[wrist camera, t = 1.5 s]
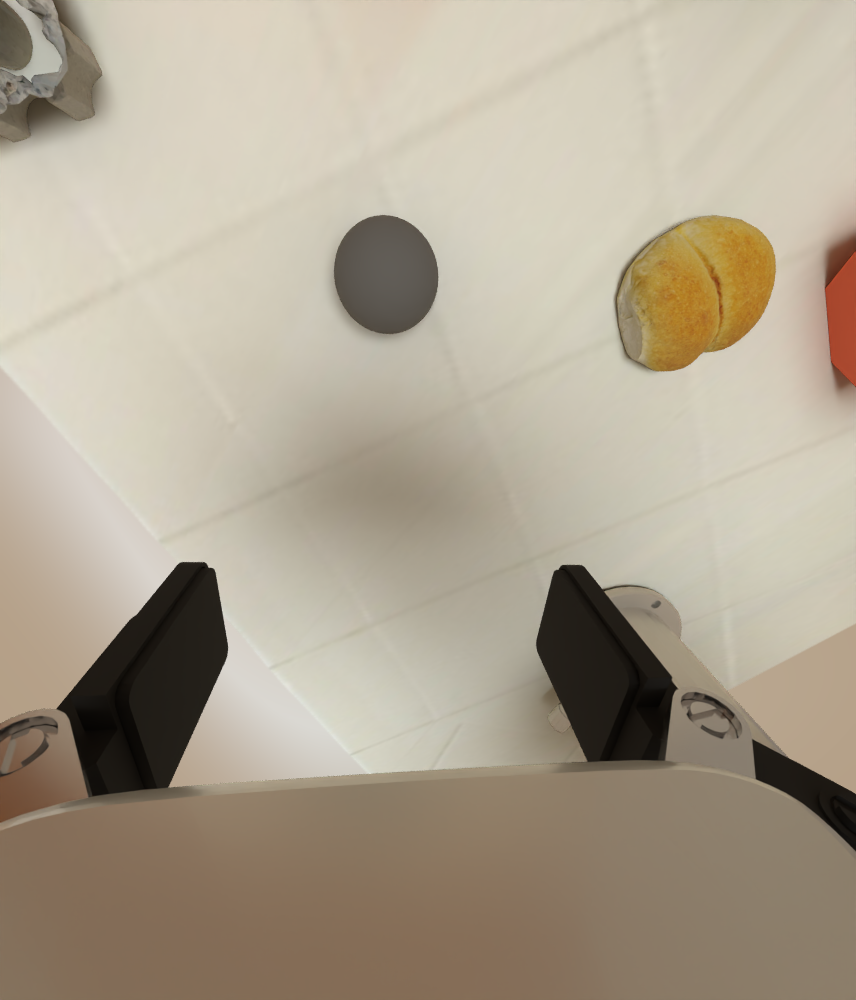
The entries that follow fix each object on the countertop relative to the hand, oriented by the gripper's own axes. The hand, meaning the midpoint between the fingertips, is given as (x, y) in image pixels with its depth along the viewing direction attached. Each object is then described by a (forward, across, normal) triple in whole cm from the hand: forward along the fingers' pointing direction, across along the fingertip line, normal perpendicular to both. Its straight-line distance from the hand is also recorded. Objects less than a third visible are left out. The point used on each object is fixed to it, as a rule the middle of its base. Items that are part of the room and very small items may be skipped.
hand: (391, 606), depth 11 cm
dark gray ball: (+16, 0, -9) cm, 18 cm away
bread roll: (+19, -19, -10) cm, 28 cm away
